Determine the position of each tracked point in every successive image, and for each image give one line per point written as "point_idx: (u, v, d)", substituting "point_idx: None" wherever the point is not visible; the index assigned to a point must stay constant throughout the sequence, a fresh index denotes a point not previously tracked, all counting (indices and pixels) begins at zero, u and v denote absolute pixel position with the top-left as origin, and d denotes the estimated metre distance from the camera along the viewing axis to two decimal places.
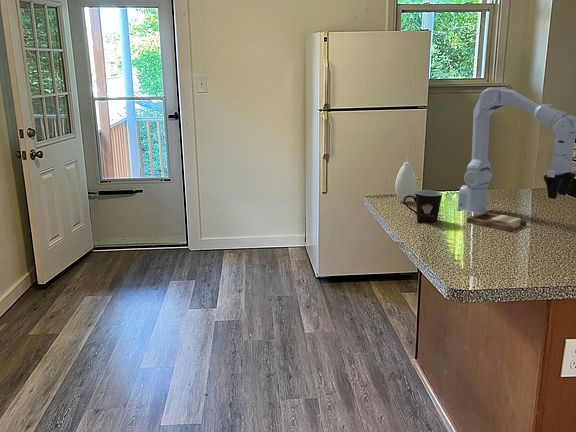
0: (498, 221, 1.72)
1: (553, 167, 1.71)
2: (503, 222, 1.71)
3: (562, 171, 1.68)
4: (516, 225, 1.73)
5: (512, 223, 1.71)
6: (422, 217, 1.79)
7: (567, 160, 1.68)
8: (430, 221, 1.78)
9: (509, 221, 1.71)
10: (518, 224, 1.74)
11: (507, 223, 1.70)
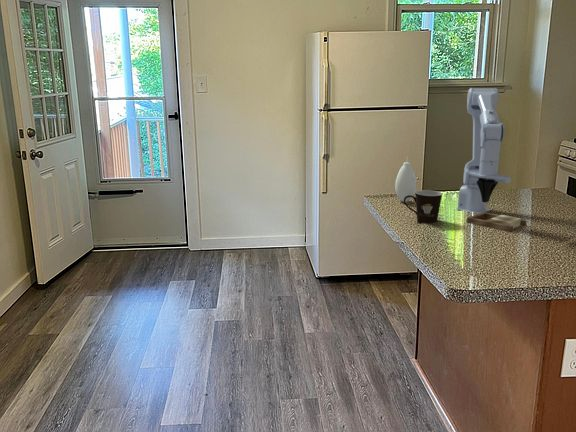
0: (498, 221, 1.72)
1: None
2: (503, 222, 1.71)
3: (475, 174, 1.78)
4: (516, 225, 1.73)
5: (512, 223, 1.71)
6: (422, 217, 1.79)
7: (480, 165, 1.75)
8: (430, 221, 1.78)
9: (509, 221, 1.71)
10: (518, 224, 1.74)
11: (507, 223, 1.70)
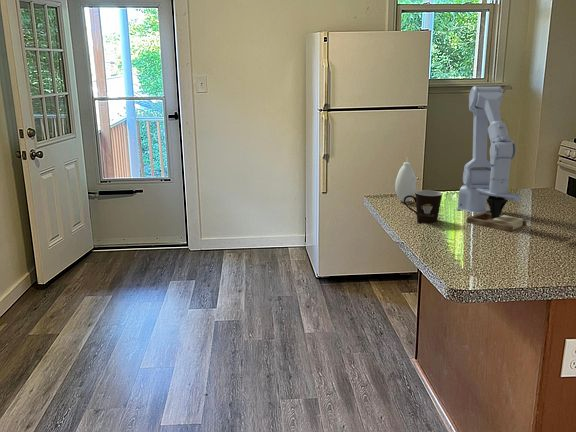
0: (500, 221, 1.72)
1: None
2: (505, 222, 1.71)
3: (484, 192, 1.76)
4: (518, 225, 1.73)
5: (514, 223, 1.70)
6: (422, 217, 1.79)
7: (490, 183, 1.74)
8: (430, 221, 1.78)
9: (511, 221, 1.71)
10: (520, 224, 1.74)
11: (509, 223, 1.70)
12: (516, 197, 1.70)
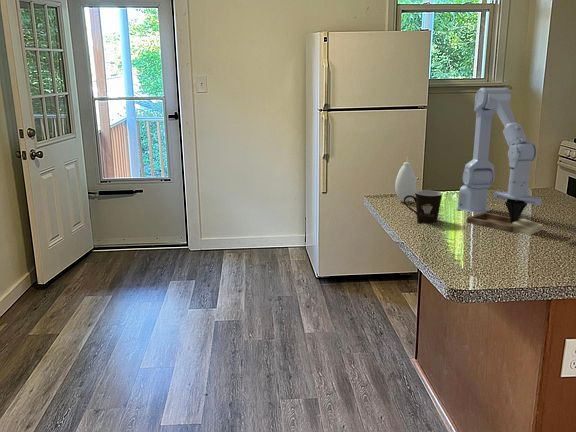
0: (520, 226, 1.68)
1: None
2: (525, 228, 1.66)
3: (503, 195, 1.72)
4: (537, 231, 1.69)
5: (534, 230, 1.66)
6: (422, 217, 1.79)
7: (509, 186, 1.69)
8: (430, 221, 1.78)
9: (531, 227, 1.66)
10: (539, 230, 1.70)
11: (529, 229, 1.66)
12: (536, 200, 1.65)
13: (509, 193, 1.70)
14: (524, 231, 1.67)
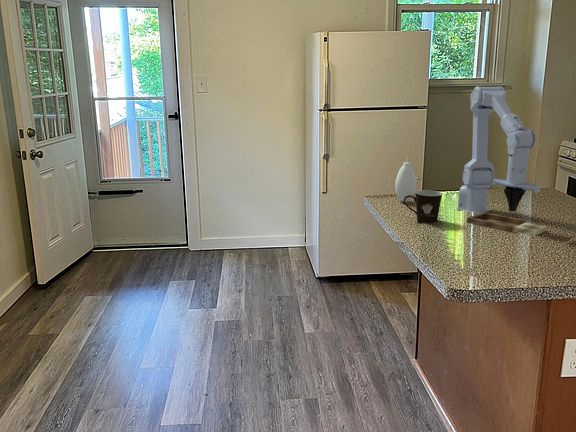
0: (523, 229, 1.67)
1: None
2: (528, 231, 1.66)
3: (502, 182, 1.71)
4: None
5: (538, 232, 1.66)
6: (422, 217, 1.79)
7: (508, 173, 1.69)
8: (430, 221, 1.78)
9: (535, 229, 1.66)
10: None
11: (533, 232, 1.65)
12: (535, 188, 1.65)
13: (508, 180, 1.69)
14: None
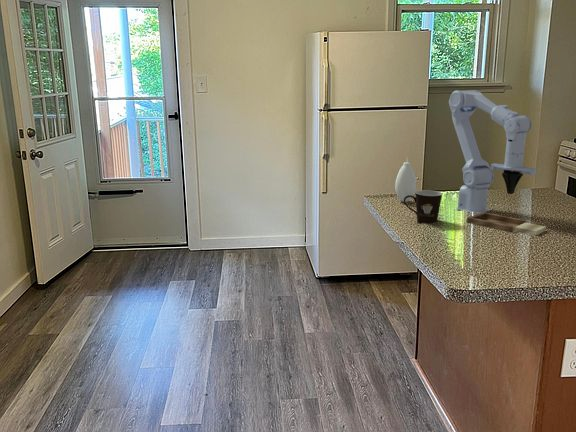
0: (523, 229, 1.67)
1: None
2: (529, 230, 1.66)
3: (500, 166, 1.80)
4: None
5: (538, 231, 1.66)
6: (422, 217, 1.79)
7: (505, 157, 1.78)
8: (430, 221, 1.78)
9: (535, 229, 1.66)
10: None
11: (533, 232, 1.65)
12: (531, 170, 1.74)
13: (505, 164, 1.78)
14: None
